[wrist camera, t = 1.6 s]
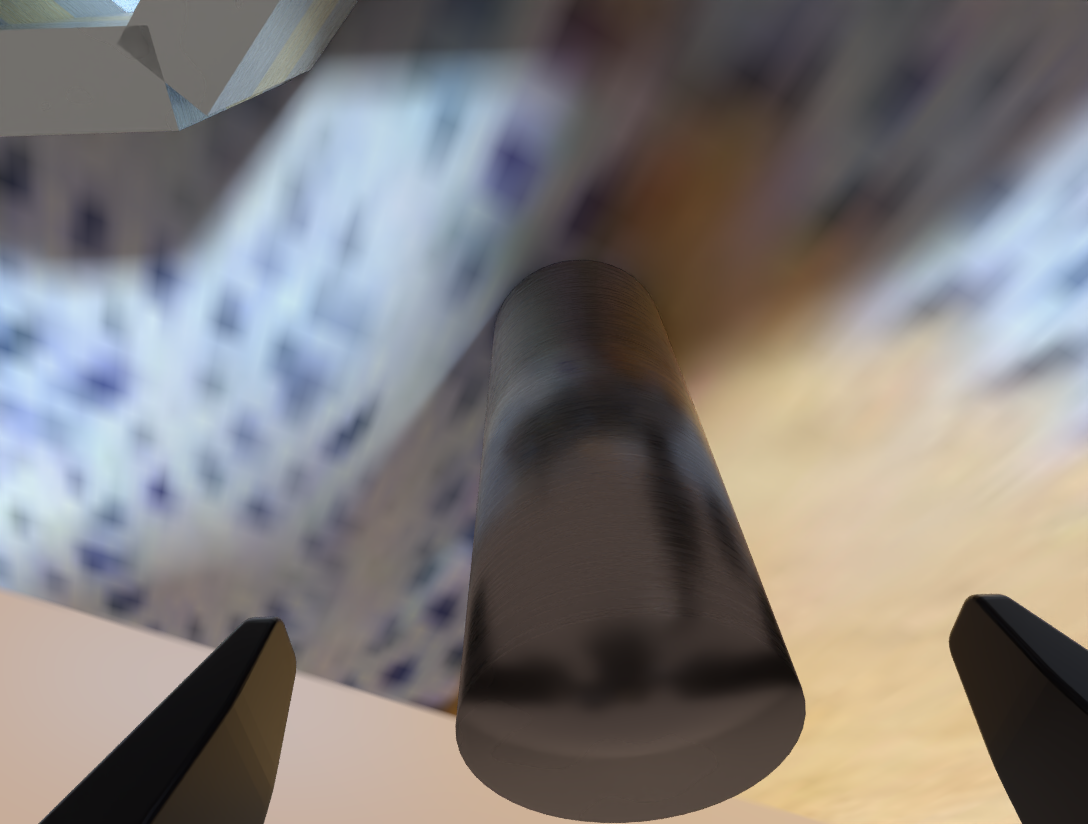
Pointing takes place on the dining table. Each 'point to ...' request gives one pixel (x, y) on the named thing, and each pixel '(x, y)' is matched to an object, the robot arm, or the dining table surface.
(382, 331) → the dining table surface
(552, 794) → the hinge pin
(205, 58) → the hinge
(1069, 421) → the dining table surface
